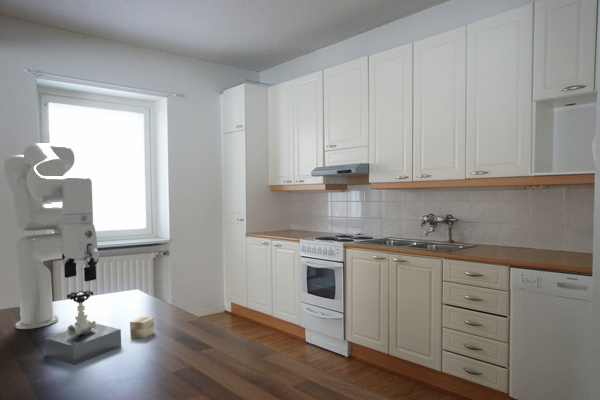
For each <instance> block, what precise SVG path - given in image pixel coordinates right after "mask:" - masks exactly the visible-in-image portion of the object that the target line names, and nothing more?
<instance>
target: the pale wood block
mask: <svg viewBox="0 0 600 400" xmlns="http://www.w3.org/2000/svg"><path fill="white" fill-rule="evenodd" d="M154 319H155V318H154V317H151V316H148V317H147V316H139V317H137V318H135V319H133V320H130V321H129V327H130V328H129V330H130V331H129V332H130V338H134V339H135V338H136V339H146V338H148V337H149V336H151V335H153V334H154V333H155V321H154Z"/></svg>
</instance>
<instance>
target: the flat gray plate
mask: <svg viewBox="0 0 600 400" xmlns="http://www.w3.org/2000/svg"><path fill="white" fill-rule="evenodd" d="M121 331H122V330H121V329H120V328H116V327H112V326H108V325H104V324H100V323H96V326H95V328H94V329H92V330H90V331H88V332H87V333H86V334H83V335H78V336H76V337H73V338H72V337H70V336H69V335H68V332H67V330H66V331H62V332H60V333H56V334H52V335H49V336H47V337H46V336H45V337H44V343H45V344H44V345H45V356H46V357H50V358H53V359H55V360H59V361H61V362H64V363H67V364H70V365H74V366H75V365H77V364H81V363H83V362H85V361H87V360H90V359H93V358H96V357H97V356H98V357H99V356H100V355H102V354H105V353H108V352H110V351H113V350H116V349H117V348H120V347H122V333H121Z"/></svg>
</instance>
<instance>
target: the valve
mask: <svg viewBox="0 0 600 400" xmlns="http://www.w3.org/2000/svg"><path fill="white" fill-rule="evenodd" d="M91 296H94V291H92V290H89V289H88V290H85V291H83V290H78V291H77V292H74V291H71V293H69V294H66V299H69V300H71V301H72V300H73V302H75V303H77V304H78V305H77V306H76V307H77V314H75V320H76V322H74V323H72V324H70V325H68V326H67V330H66V331H67V332H68V335H69V336H70V337H72V338H73V337H76V336H78V335H83V334H86V333H87V332H88V331H90V330H92V329H94V328H95V326H96V324H97V323H96V320H95V319H94V318H93V317H91V316H90V317H88V313H86V312H85V307H86V306H85V305H84V304H83V303H84V302H85V301H87V300H88V299H90V297H91Z"/></svg>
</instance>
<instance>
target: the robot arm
mask: <svg viewBox="0 0 600 400" xmlns="http://www.w3.org/2000/svg"><path fill="white" fill-rule="evenodd" d="M74 163H75V153H74V151H73V150H72V148H71V147H70V146H68V145H66V144H65V145H64V144H58V143H57V144H56V143H43V142H42V143H40V142H39V143H37V142H36V143H31V144H29V145H28V146H26V147H25V148H24V150H23V153H22V154H15V155H10V156H8V157H6V158H5V160H4V162H3V176H4V178H5V180H6V183H7V185H8V188H9V189H10V191H11V194H12V198H13V199H12V200H13V207H14V209H13V210H14V214H15V215H14V216H15V222H16V226H17V228H18V230H19V231H21V232H27V233H29V232H31V233H32V232H44V231H52V232H53V233H40V234H31V235H30V234H29V235H25V236H22V237H19V238H18V239H16V241H15V242H14V244H13V245H14V246H13V251H14V256H15V261H16V265H17V272H18V273H17V274H18V290H19V291H18V292H19V309H20V310H19V311H20V313H19V316H20V320H19V321H17V322H16V323H15V328H16V329H18V330H33V329H37V328H43V327H48V326H49V325H50V326H51V325H52V324H55V323H57V322H58V321H59V316H58V315H56V314H54V312H53V311H54V310H53V308H54V307H53V306H54V305H53V290H52V289H53V288H52V286H53V285H52V273H51V271H50V269H49V268H48V267H47V266H46V265H45V264H43V262H46V261H51V260H57V259H58V260H59V259H63V261H62V263H63V265H64V267H63V268H64V269H63V270H64V278H65V279H68V278H73V277H76V276H77V262H76V260H77V261H82V263H83V264H84V266H85V267H83V272H84V273H83V275H84V277H83V279H84V280H83V281H84V282H91V281H95V280H97V265H98V262H99V257H100V251H99V250H98V238H97V233H96V228H95V224H94V213H93V209H94V208H93V206H94V205H93V183H92V179H91V178H89V177H87V176H64V175H65V174H66V173H68V172H69V171H70V170H71V169H72V168H73V166H74ZM45 203H55V204H45ZM56 203H62V205H61V204H56Z"/></svg>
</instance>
